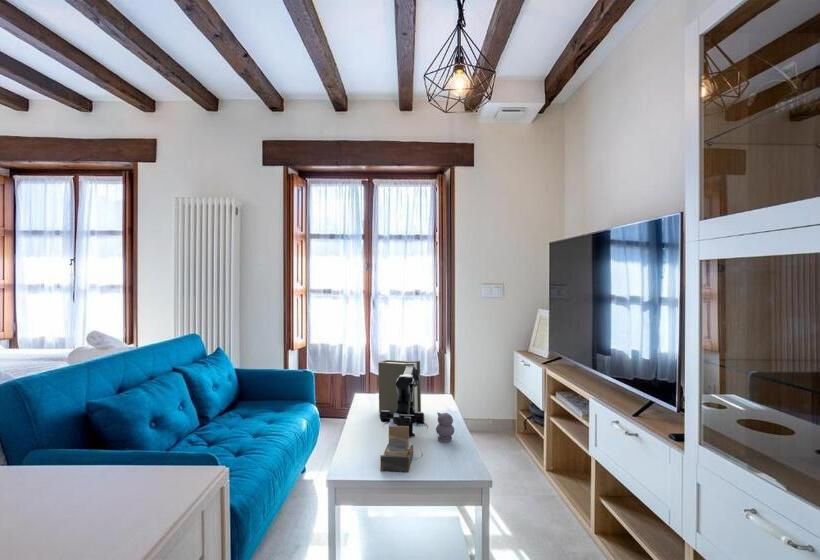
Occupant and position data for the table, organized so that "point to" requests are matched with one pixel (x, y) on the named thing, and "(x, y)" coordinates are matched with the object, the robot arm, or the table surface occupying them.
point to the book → (387, 384)
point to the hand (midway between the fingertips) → (400, 436)
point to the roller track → (396, 462)
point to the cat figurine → (445, 427)
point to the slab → (398, 441)
